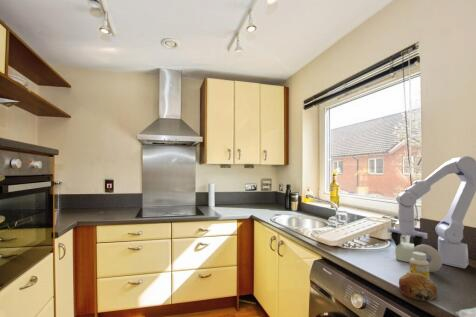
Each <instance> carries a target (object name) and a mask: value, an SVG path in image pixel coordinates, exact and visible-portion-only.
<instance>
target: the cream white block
mask: <svg viewBox="0 0 476 317" xmlns="http://www.w3.org/2000/svg"><path fill="white" fill-rule="evenodd" d="M413 248H414V243H410V242H409V243H406V242H402V243H400V244H398V245H397V246H396V245H395V259H396V260H398V261H402V262H406V263H410V259H411V258H412V250H413Z"/></svg>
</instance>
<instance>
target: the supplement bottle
mask: <svg viewBox="0 0 476 317" xmlns="http://www.w3.org/2000/svg"><path fill="white" fill-rule="evenodd" d="M412 256H413V258H411V259H410V262H409V264H410V271H409V272H410V273H419V274H422V275H424V276H426V277H428V278H429V279H430V272H429V261H428V260H427V259H428V257H426V254H425V253H422V252H412ZM426 258H427V259H426Z"/></svg>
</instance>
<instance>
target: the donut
mask: <svg viewBox="0 0 476 317" xmlns="http://www.w3.org/2000/svg"><path fill="white" fill-rule="evenodd" d="M412 252H422V253H425V254H427V256H429V258H430V262H429V261H428V262H429V273H435V272H437V271H439V270H440V269H441V268H442V266H443V264H442V258H441V256H440V254H439V253H438V249H436V248H434V247H433V246H432V245H428V244H423V243H420V245H417V246H416V247H414V248H413V250H412ZM412 258H413V256H412Z"/></svg>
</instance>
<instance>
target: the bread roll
mask: <svg viewBox="0 0 476 317" xmlns="http://www.w3.org/2000/svg"><path fill="white" fill-rule="evenodd" d="M398 287H399V291H400V293H401V294H402V295H404V296H405V297H408V298H410V299H413V300H417V301H421V302H423V301H425V302H427V301H432V300H435V298H437V296H438V291H437V286H436V285H435V283H434V281H432V280H431V278H430V277H429V278H428V277H426V276H424V275H422V274H419V273H410V271H407V272H406V273H405V274H403V275H402V276H400V277H399V278H398Z"/></svg>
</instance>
